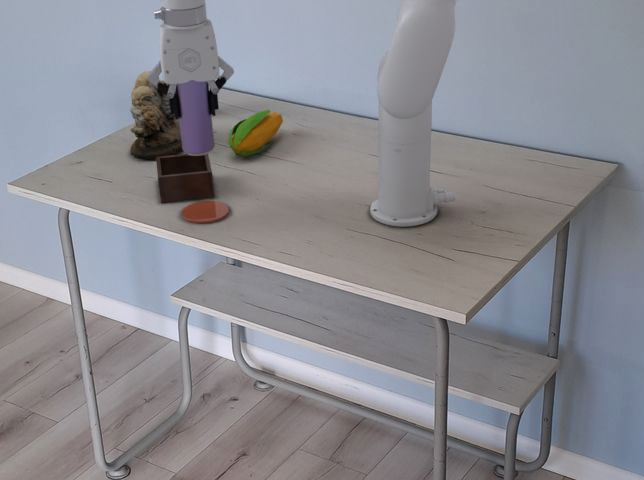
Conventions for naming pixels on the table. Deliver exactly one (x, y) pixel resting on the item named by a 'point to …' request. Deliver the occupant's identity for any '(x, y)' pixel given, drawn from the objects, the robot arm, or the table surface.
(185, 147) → the beverage can
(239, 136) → the corn
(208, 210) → the coaster
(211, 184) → the caddy
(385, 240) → the table surface
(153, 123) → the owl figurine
